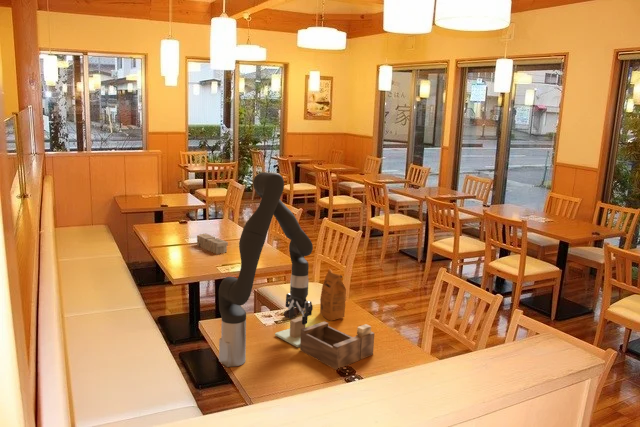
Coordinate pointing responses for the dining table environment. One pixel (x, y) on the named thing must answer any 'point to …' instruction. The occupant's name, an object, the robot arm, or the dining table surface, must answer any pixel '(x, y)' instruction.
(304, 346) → the wooden box frame
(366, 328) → the tan wooden block
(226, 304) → the robot arm
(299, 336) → the lid
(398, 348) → the dining table surface
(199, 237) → the block tower
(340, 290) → the coffee package
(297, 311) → the bolt
